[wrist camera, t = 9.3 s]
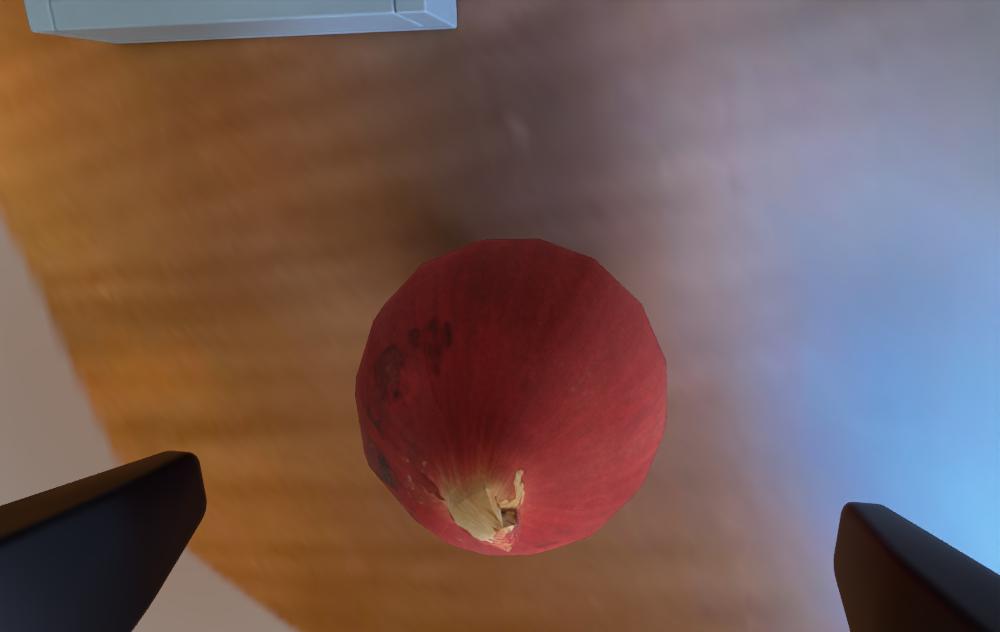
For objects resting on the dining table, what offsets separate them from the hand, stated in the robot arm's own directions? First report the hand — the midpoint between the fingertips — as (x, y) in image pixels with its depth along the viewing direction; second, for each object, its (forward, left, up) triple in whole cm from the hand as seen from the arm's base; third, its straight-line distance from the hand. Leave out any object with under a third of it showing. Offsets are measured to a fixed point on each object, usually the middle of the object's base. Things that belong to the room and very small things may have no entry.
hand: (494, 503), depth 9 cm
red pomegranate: (0, 0, -8) cm, 8 cm away
